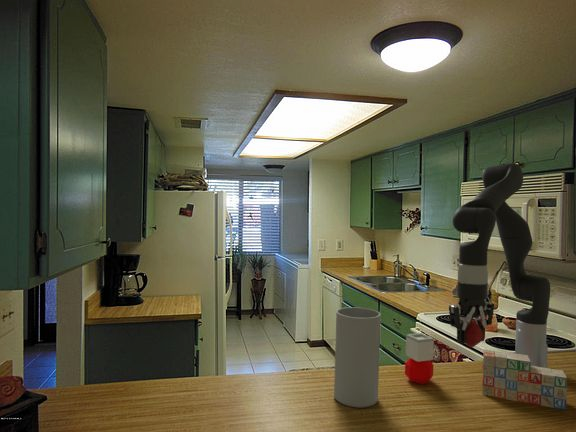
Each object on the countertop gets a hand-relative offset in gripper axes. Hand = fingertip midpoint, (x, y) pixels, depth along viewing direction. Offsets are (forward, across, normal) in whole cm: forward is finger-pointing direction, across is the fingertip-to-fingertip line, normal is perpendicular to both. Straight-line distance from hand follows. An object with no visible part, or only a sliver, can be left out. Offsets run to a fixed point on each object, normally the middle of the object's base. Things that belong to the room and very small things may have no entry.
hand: (470, 341), depth 114 cm
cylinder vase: (+19, +26, -16) cm, 36 cm away
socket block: (+12, 0, -21) cm, 24 cm away
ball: (+20, 0, -21) cm, 29 cm away
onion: (+2, 0, 0) cm, 2 cm away
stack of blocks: (+20, -22, -2) cm, 29 cm away
